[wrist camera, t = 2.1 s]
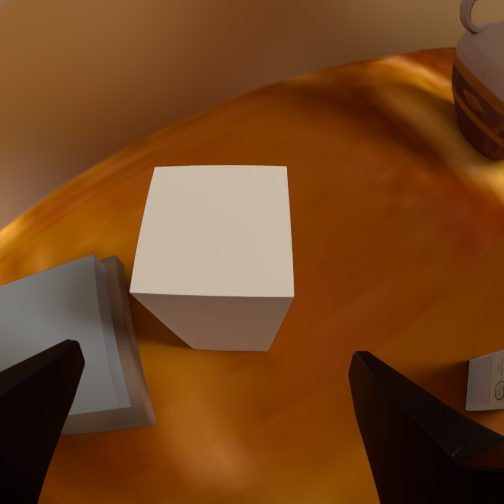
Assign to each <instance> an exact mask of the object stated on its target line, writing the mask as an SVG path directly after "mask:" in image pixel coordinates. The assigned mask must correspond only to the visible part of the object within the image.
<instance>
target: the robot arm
mask: <svg viewBox="0 0 504 504" xmlns="http://www.w3.org/2000/svg"><path fill="white" fill-rule="evenodd" d="M84 367H85V359H84V356H83V353H82V350H81V347H80V344H79V342H78V341H77V340H71V339H66V340H64V341H62V342H60V343H58V344H56V345H54V346H52V347H50V348H48V349H46V350H44V351H42V352H40V353H38V354H36V355H34V356H32V357H29V358H27V359H25V360H23V361H21V362H19V363H17V364H15V365H13V366H11V367H9V368H7V369H5V370H3V371H1V372H0V504H37V503H38V500H39V496H40V493H41V489H42V486H43V483H44V480H45V477H46V474H47V471H48V468H49V465H50V462H51V459H52V456H53V453H54V450H55V448H56V445H57V442H58V440H59V437H60V434H61V432H62V429H63V426H64V424H65V421H66V419H67V416H68V414H69V412H70V409H71V407H72V404H73V402H74V399H75V396H76V392H77V389H78V386H79V382H80V379H81V376H82V373H83V370H84ZM349 382H350V387H351V393H352V398H353V404H354V410H355V415H356V419H357V423H358V426H359V429H360V433H361V436H362V439H363V443H364V446H365V449H366V453H367V456H368V460H369V463H370V467H371V470H372V474H373V478H374V481H375V485H376V489H377V492H378V496H379V500H380V504H504V436H502V435H500V434H498V433H496V432H494V431H492V430H491V429H489V428H487V427H485V426H483V425H481V424H479V423H477V422H475V421H473V420H471V419H470V418H468V417H466V416H464V415H462V414H461V413H459V412H458V411H456V410H454V409H453V408H451V407H450V406H448V405H447V404H445V403H442V401H441V400H439V399H438V398H436V397H435V396H433V395H432V394H430V393H429V392H427V391H426V390H424V389H423V388H421V387H420V386H418V385H417V384H415V383H414V382H412V381H411V380H409V379H408V378H406V377H405V376H403V375H402V374H400V373H399V372H397V371H396V370H394V369H393V368H391V367H390V366H388V365H387V364H386V363H384V362H383V361H381V360H380V359H378V358H377V357H375V356H374V355H372V354H371V353H369V352H368V351H356V352H355V353H354V354H353V357H352V361H351V365H350V369H349Z"/></svg>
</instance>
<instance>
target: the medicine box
mask: <svg viewBox="0 0 504 504" xmlns="http://www.w3.org/2000/svg"><path fill="white" fill-rule="evenodd" d="M494 409H504V350H500V351H497V352H494V353H491V354H487V355H484V356H481V357H477V358H474V359H471V360H470V362H469V373H468V386H467V397H466V407H465V410H466V411H482V410H494Z"/></svg>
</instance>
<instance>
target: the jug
mask: <svg viewBox="0 0 504 504" xmlns="http://www.w3.org/2000/svg"><path fill="white" fill-rule="evenodd" d="M476 1H477V0H462V1H461V4H460V20H461V22H462V24H463V26H464V27H465V29H467V31H465V33H464V34H463V36H462V37H461V38H460V40H459V41H458V44H457V48H456V51H455V55H454V63H453V70H452V92H453V97H454V102H455V107H456V112H457V116H458V120H459V125H460V128H461V131H462V133H463V134H464V136H465V137H466V138H467V140H468V141H469V142H470V143H471V144H472V145H473V146H474V147H475V148H476V149H477V150H478V151H479V152H481V153H482V154H483V155H485V156H487V157H488V158H490V159H493V160H504V21H497V22H488V23H482V24H477V25H476V24H474V23H473V22H472V20H471V10H472V8H473V5H474V3H475V2H476Z"/></svg>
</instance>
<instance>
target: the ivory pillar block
mask: <svg viewBox="0 0 504 504" xmlns="http://www.w3.org/2000/svg"><path fill="white" fill-rule="evenodd" d="M130 293H131V294H132V295H133V296H134V297H135V298H136V299H137V300H138V301H139V302H140V303H141V304H142V305H144V306H145V307H146V308H147V309H148V310H149V311H150V312H151V313H152V314H153V315H154V316H156V317H157V318H158V319H159V320H160V321H161V322H162V323H163V324H165V325H166V326H167V327H168V328H169V329H170V330H171V331H173V332H174V333H175V334H176V335H177V336H178V337H179V338H181V339H182V340H183V341H184V342H185V343H187V344H188V345H189V346H190V347H191V348H193V349H200V350H225V351H268V350H269V348H270V346H271V344H272V342H273V340H274V338H275V336H276V334H277V332H278V330H279V328H280V326H281V323H282V321H283V319H284V317H285V315H286V313H287V311H288V309H289V307H290V304H291V302H292V300H293V298H294V283H293V262H292V243H291V226H290V210H289V196H288V182H287V169H286V167H283V166H175V167H155V169H154V173H153V177H152V181H151V185H150V189H149V194H148V198H147V202H146V207H145V211H144V216H143V220H142V225H141V230H140V235H139V240H138V245H137V251H136V256H135V262H134V268H133V274H132V280H131V287H130Z"/></svg>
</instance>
